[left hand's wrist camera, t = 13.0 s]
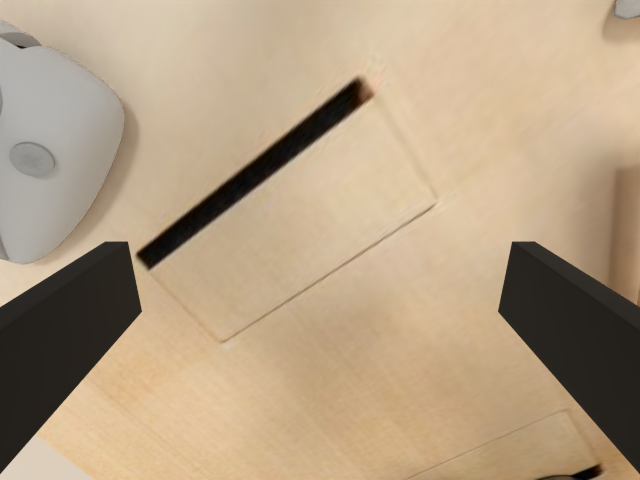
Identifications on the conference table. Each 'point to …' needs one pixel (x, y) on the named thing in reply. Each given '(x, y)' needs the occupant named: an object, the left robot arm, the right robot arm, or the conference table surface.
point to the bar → (639, 298)
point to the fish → (627, 9)
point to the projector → (49, 144)
